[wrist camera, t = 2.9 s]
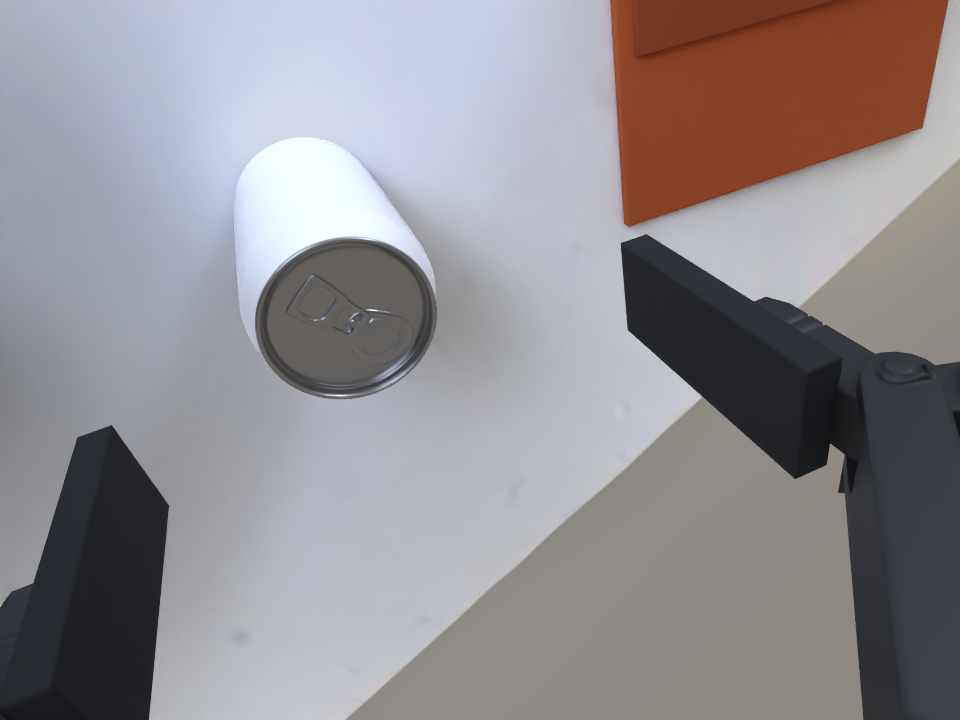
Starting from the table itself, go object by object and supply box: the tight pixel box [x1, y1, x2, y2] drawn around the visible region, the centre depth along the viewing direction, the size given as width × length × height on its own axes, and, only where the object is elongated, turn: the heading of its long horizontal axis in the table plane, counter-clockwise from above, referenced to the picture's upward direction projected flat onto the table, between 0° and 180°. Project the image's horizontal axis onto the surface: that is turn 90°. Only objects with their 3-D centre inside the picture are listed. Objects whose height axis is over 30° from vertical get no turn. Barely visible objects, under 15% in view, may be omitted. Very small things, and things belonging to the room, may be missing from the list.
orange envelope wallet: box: [610, 0, 948, 226], centre depth 34 cm, size 20×12×1 cm, turn 101°
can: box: [234, 137, 437, 399], centre depth 25 cm, size 6×6×12 cm
